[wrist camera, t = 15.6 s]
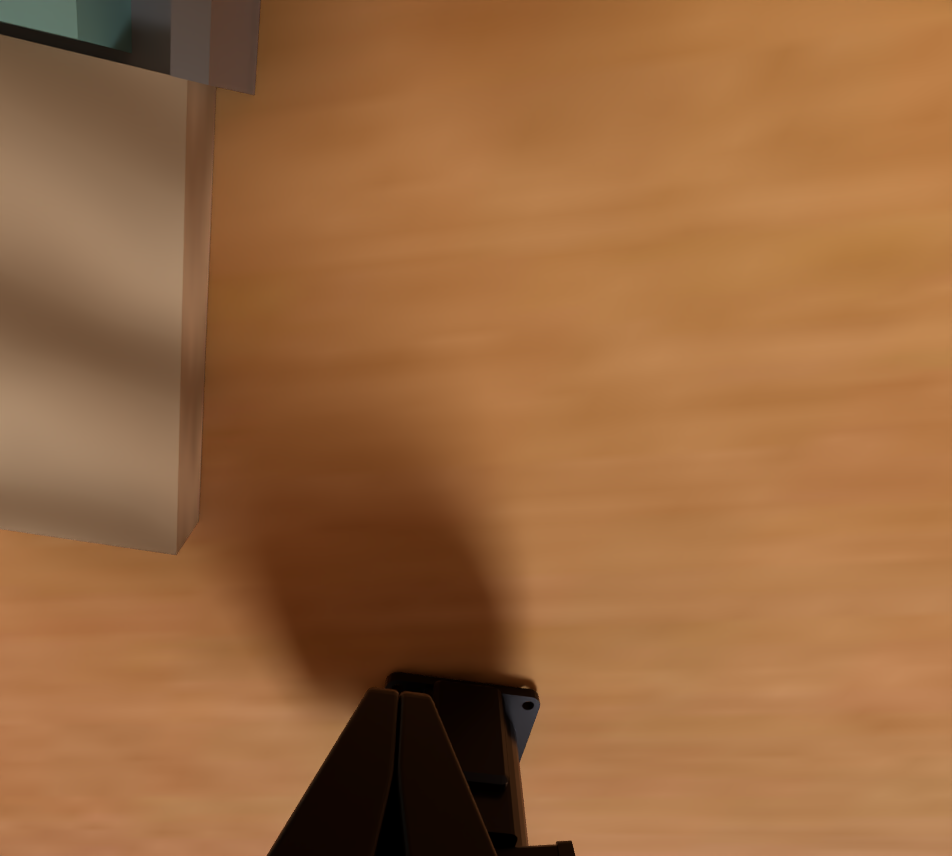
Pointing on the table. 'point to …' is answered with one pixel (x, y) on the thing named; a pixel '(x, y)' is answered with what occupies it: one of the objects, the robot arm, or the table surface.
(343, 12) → the table surface
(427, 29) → the table surface
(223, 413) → the table surface
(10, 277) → the bench plate
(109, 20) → the tile
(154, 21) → the tray
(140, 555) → the table surface
